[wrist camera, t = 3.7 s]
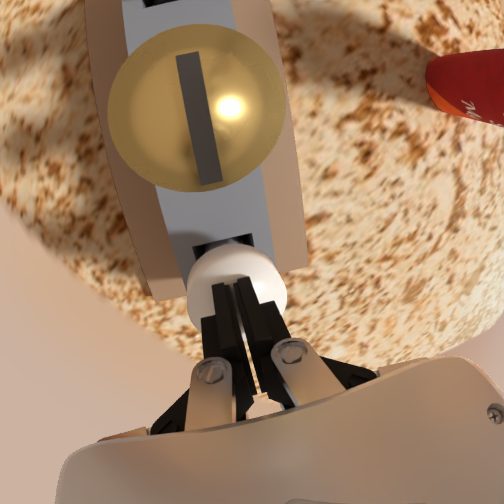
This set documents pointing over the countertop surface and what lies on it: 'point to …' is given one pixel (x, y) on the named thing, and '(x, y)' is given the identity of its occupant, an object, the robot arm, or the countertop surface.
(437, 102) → the coffee cup
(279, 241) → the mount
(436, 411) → the robot arm
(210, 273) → the knob
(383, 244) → the countertop surface
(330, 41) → the countertop surface
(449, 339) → the countertop surface
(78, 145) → the countertop surface
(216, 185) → the pot knob
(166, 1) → the knob
